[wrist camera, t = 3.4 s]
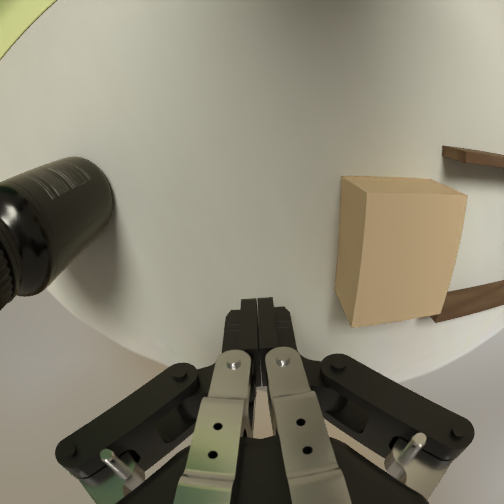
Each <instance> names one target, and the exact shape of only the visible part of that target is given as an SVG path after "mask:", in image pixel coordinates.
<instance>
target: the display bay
mask: <svg viewBox="0 0 504 504" xmlns="http://www.w3.org/2000/svg"><path fill="white" fill-rule="evenodd" d="M442 156H445V157H448V158H452V159H455V160H458V161H462V162H465V163H472V164H481V165H488V166H495V167H502V168H504V155H500V154H495V153H489V152H484V151H478V150H471V149H464V148H457V147H449V146H443V155H442ZM501 305H504V280H503V281H498V282H494V283H489V284H485V285H480V286H476V287H471V288H466V289H461V290H456V291H451V292H447V294H446V298H445V301H444V304H443V307H442V310H441V313H440V314H437V315H431V318H432V319H433V320H434V322H435V323H437V322H442V321H446V320H450V319H454V318H458V317H462V316H466V315H470V314H473V313H477V312H481V311H484V310H488V309H491V308H494V307H498V306H501Z"/></svg>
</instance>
